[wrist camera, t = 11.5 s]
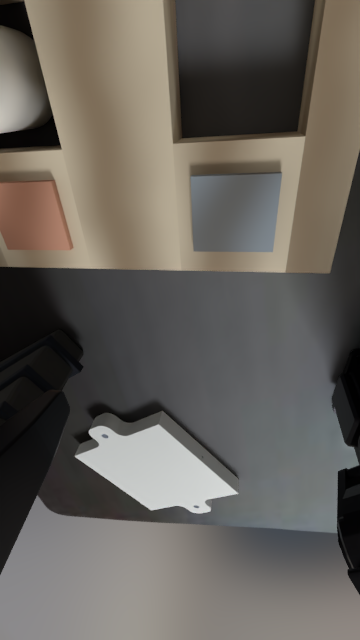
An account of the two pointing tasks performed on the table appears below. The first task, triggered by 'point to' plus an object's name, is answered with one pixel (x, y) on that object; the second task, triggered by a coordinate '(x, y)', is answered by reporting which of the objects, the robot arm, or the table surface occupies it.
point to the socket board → (175, 153)
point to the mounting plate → (156, 462)
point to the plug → (21, 84)
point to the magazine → (37, 372)
